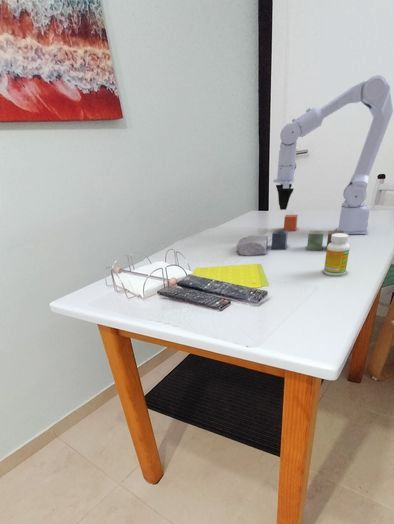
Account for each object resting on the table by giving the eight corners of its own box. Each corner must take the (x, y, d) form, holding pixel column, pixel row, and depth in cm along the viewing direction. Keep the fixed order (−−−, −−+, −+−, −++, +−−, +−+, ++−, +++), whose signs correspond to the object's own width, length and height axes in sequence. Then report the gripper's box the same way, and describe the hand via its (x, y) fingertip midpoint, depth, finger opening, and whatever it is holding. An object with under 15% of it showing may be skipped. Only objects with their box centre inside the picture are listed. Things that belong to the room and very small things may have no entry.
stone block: (237, 261, 109) (268, 254, 105) (234, 246, 106) (265, 239, 103) (240, 251, 119) (269, 245, 115) (238, 237, 116) (267, 231, 113)
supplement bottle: (342, 277, 86) (349, 238, 81) (321, 274, 89) (326, 236, 83) (347, 270, 90) (353, 233, 85) (326, 268, 92) (331, 231, 87)
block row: (341, 246, 108) (343, 230, 105) (341, 250, 104) (343, 234, 101) (273, 245, 115) (274, 230, 112) (271, 249, 111) (272, 233, 108)
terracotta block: (296, 228, 132) (297, 214, 130) (295, 230, 129) (296, 217, 126) (285, 227, 134) (286, 214, 131) (283, 230, 130) (284, 217, 128)
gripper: (274, 164, 123) (270, 204, 130) (275, 167, 111) (272, 211, 118) (293, 163, 122) (289, 203, 129) (297, 167, 110) (292, 211, 117)
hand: (282, 207), depth 124 cm, fingers open, 7 cm apart
